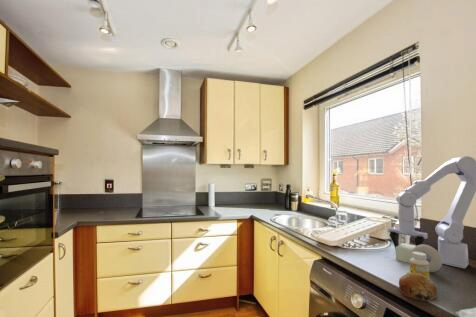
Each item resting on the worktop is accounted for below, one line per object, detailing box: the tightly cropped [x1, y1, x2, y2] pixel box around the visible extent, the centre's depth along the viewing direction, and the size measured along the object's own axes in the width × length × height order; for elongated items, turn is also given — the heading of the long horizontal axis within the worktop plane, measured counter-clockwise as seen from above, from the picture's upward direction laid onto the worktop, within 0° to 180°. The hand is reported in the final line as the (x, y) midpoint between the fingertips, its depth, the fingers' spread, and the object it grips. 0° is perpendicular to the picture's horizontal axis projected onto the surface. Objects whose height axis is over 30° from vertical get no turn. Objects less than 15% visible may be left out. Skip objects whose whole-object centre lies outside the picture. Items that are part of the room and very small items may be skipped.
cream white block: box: [395, 243, 416, 264], centre depth 112 cm, size 9×6×5 cm, turn 132°
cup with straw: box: [391, 220, 411, 245], centre depth 124 cm, size 8×9×20 cm
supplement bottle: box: [409, 252, 430, 279], centre depth 90 cm, size 5×5×10 cm
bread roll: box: [398, 271, 438, 302], centre depth 81 cm, size 10×10×8 cm
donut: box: [412, 243, 443, 273], centre depth 99 cm, size 10×4×10 cm, turn 31°
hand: (407, 252), depth 112 cm, fingers open, 7 cm apart
